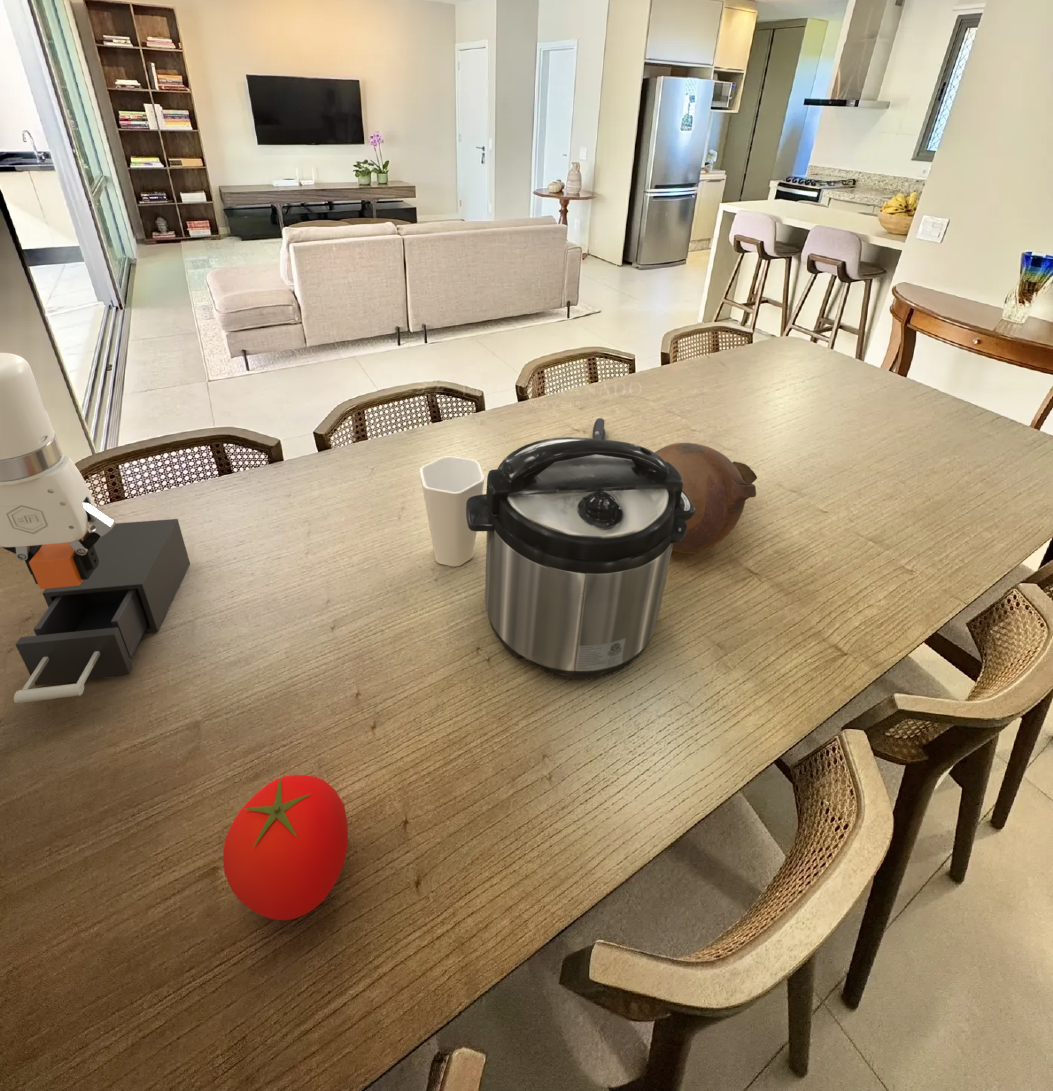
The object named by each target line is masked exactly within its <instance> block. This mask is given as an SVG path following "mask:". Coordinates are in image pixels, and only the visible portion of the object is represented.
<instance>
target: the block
mask: <svg viewBox="0 0 1053 1091" xmlns="http://www.w3.org/2000/svg"><path fill="white" fill-rule="evenodd" d="M81 540H83V539H82V538H81ZM75 554H76V552H75V551H74V549H73V548H72V547H71V546H70V544H69V543H58V544H46V545H42V547H41V548H40V549H39V550H38V552H37V553H36V554H35V555H34V557H33V558H32V559H31V560H30V561H29V564H30V567H31V569H32V571H33V573H34V576H35V578H36V580H37V583H38V584H37V585H38V587H39V589H40V590H45V589H48V588H59V587H69V586H79V585H80V584H81V582H82V581H83V580H82V579H81V577H80V574H79V572H78V569H77V567H76V564H75V561H74V556H75Z"/></svg>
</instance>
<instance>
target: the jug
mask: <svg viewBox="0 0 1053 1091" xmlns="http://www.w3.org/2000/svg"><path fill="white" fill-rule="evenodd" d="M653 452H654V453H656V454H657V455H659V456H660V457H661V458H662V459H663V460H664V461H665V462H669V463H670V464H671V465H672V466H674V467H675V469H676V470H677V471H678V472H679V473H680V475H681V477H682V480H683V488H682V490H683V491H684V492H685V494H686V495H687V496H688V497H689V499H690V500H691V502H692V504H693V506H694V508H695V514H694V515H693V516H692V517H691V518H690V519H688V520H686V521H685V522H686V524H687V530H686V534H685V537H684V539H683V540H682V541H681V542H676V543H673V548H672V552H673V551H674V552H677V553H681V554H682V553H683V554H696V553H701V552H704V551H706V550H709V549H711V548H712V547H715V546H716V545H717V544H719V543H720V542H721V541H723V540H724V539H725V538H726V537H728V535H729V534H730V533H731V532H732V531H733V530H734V529H735V528H736V525H737V524H738V523H739V520H740V518H741V516H742V514H743V511H744V508H745V505H746V502H747V500H748V499H750V498H755V497H756V496H757V488H756V487H757V486H756V485H755V484H753V483H754V482H755V481H756V480H757V479H758V476H757V474H756V473H755V472H754V471H753V470H752V469H751V467H750V466H749V465H747V464H746V463H743V462H739V461H734V460H733V461H732V460H730V458H728V456H726V455H724V454H723V453H722V452H720V451H718V450H717V449H714V448H712V447H710V446H706V445H704V444H699V443H694V442H693V443H692V442H676V443H671V444H668V445H665V446H663V447H661V448H659V449H658V450H656V451H653Z"/></svg>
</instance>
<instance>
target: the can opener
mask: <svg viewBox="0 0 1053 1091" xmlns="http://www.w3.org/2000/svg"><path fill="white" fill-rule="evenodd" d="M591 439H597V440H606V429H605V419H604V418H601V417H600V418H597V419H596V420H595V421H594V424H593V427H592V438H591Z"/></svg>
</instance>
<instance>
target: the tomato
mask: <svg viewBox="0 0 1053 1091" xmlns="http://www.w3.org/2000/svg"><path fill="white" fill-rule="evenodd" d="M348 847H349V826H348V818H347V812H346V808H345V804H344V802H343V800H342V799H341V796H340V795H339V794H338V792H337V791H336V789H335V788H334V787H333V786H332V785H330V783H329V782H327V781H326V780H324V779H323V778H320V777H318V776H314V775H308V774H291V775H285V776H282V777H281V776H280V777H278V778H276V779H274V780H272V781H271V782H269V783H267V784H266V785H264V787H262V788H261V789H259V790H258V791H257V792H256V793H255V794H254V795H253V796H252V797H251V798H250V799H249V800H248V801H247V802H246V803H245V804H244V805H243V806H242V808H241V809H240V810H239V811H238V813H237V815H236V816H235V817H234V819H233V821H232V823H231V825H230V827H229V829H228V832H227V834H226V836H225V839H224V843H223V850H222V865H223V873H224V875H225V877H226V880H227V883H228V885H229V887H230V889H231V891H232V893H233V894H234V896H236V898H237V899H238V900H239V901H240V902H241V903H242V904H243V905H245V906H246V908H248V909H250V910H251V911H252V912H254V913H256V914H258V915H259V916H261V917H264V918H266V919H270V920H273V921H290V920H294V919H298V918H300V917H303V916H305V915H307V914H309V913H310V912H312V911H313V910H315V909H316V908H317V907H319V906H320V905H321V904H322V903H323V901H325V899H326V898H327V897H328V896H329V894H330V893H331V891H332V890H333V888H334V886H335V885H336V883H337V881H338V879H339V878H340V875H341V873H342V870H343V867H344V865H345V861H346V856H347V852H348Z"/></svg>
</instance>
